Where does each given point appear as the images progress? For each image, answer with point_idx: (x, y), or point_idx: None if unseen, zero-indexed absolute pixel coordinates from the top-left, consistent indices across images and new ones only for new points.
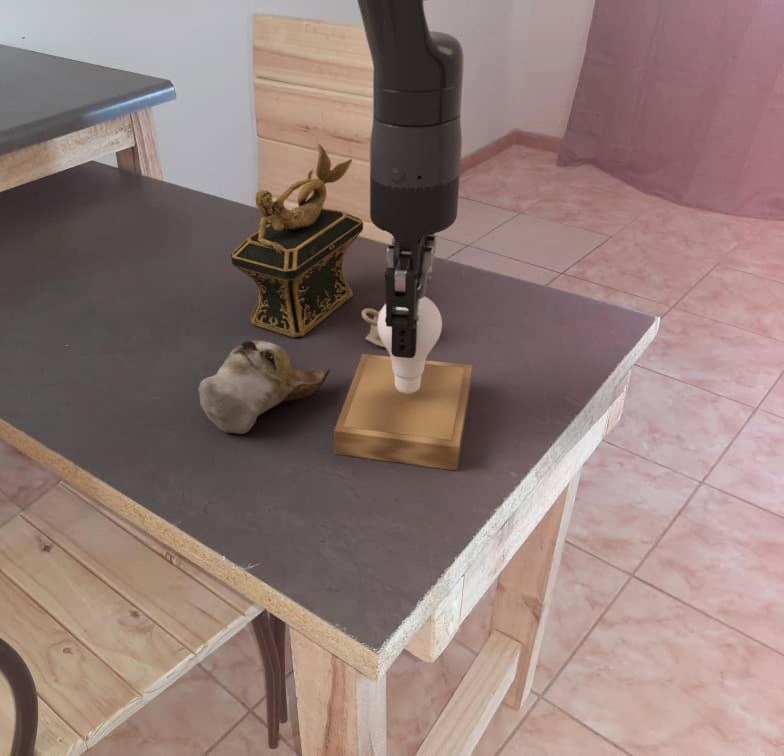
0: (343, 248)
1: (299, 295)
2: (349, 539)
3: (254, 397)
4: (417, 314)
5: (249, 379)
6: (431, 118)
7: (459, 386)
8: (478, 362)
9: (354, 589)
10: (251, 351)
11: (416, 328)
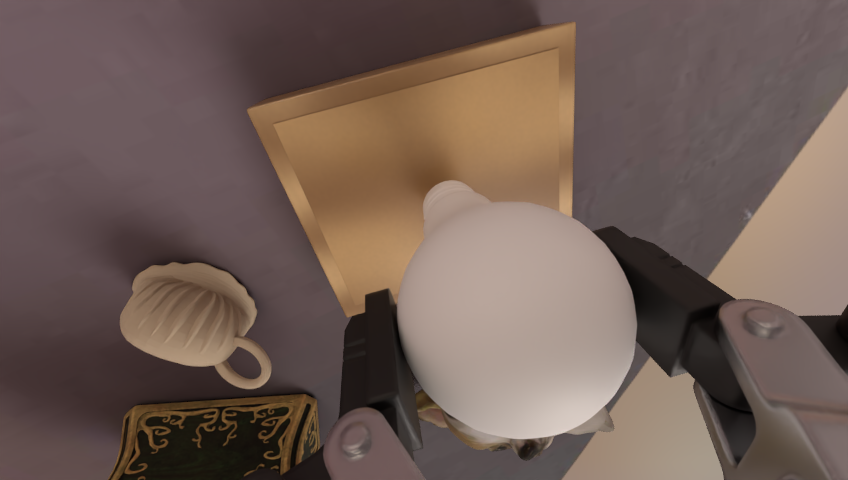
0: None
1: (275, 468)
2: (711, 132)
3: None
4: (793, 338)
5: None
6: None
7: (357, 106)
8: (152, 118)
9: (799, 84)
10: (539, 442)
11: (681, 287)
